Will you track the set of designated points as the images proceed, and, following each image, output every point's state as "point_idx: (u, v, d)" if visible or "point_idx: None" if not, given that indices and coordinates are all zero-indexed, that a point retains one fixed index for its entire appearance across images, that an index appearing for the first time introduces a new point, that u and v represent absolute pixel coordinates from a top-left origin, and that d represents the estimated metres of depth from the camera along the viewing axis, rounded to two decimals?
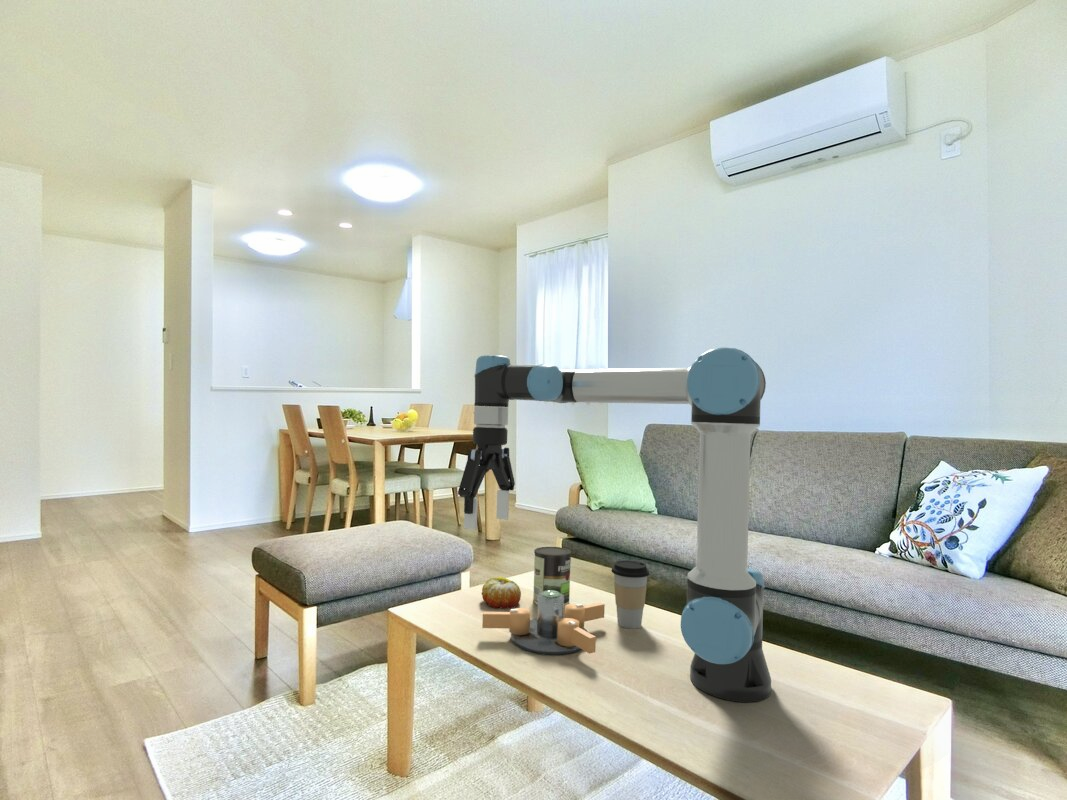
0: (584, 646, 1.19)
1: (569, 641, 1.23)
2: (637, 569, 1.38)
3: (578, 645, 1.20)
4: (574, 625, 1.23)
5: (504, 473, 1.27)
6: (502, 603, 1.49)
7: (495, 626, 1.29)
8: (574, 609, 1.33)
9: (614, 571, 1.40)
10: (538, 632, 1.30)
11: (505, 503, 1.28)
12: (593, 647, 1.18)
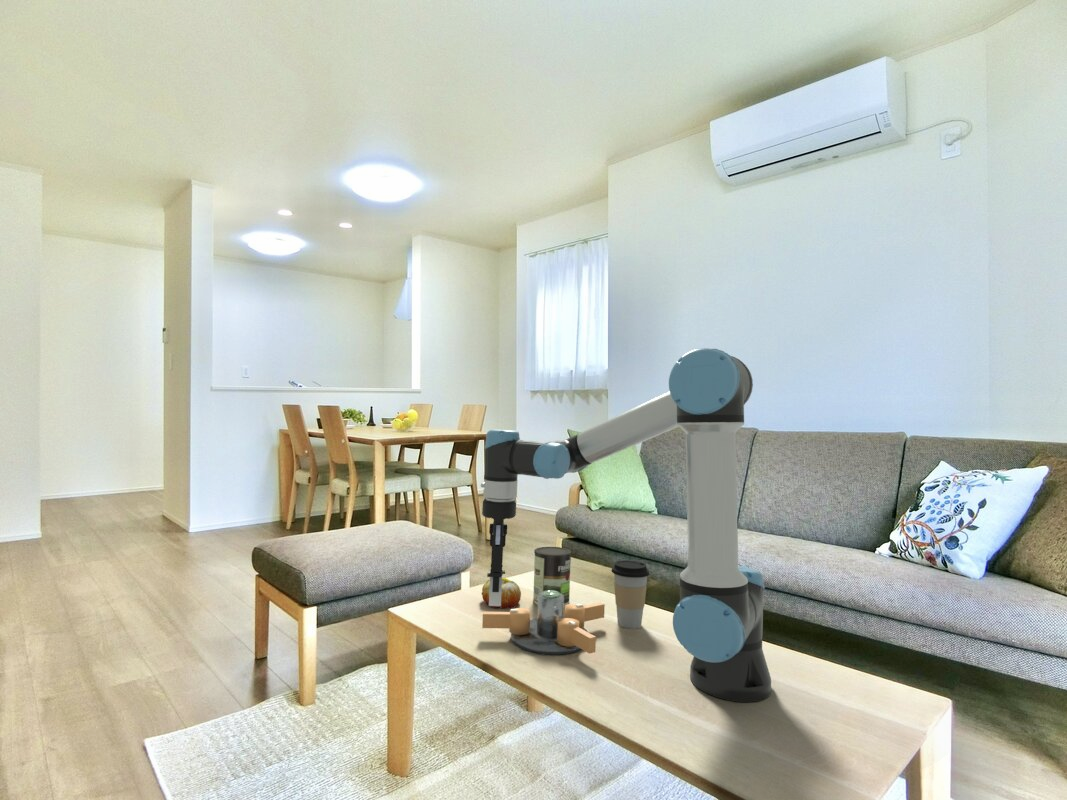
0: (584, 646, 1.19)
1: (569, 641, 1.23)
2: (637, 569, 1.38)
3: (578, 645, 1.20)
4: (574, 625, 1.23)
5: None
6: (502, 603, 1.49)
7: (495, 626, 1.29)
8: (574, 609, 1.33)
9: (614, 571, 1.40)
10: (538, 632, 1.30)
11: None
12: (593, 647, 1.18)
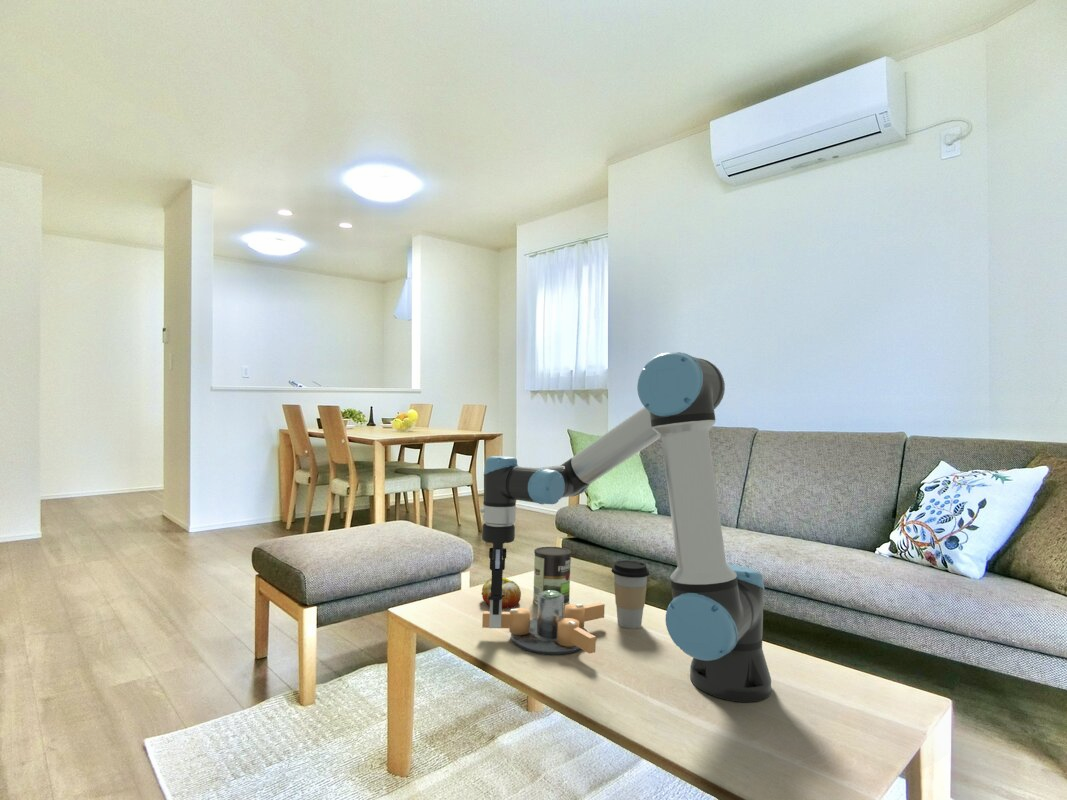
0: (584, 646, 1.19)
1: (569, 641, 1.23)
2: (637, 569, 1.38)
3: (578, 645, 1.20)
4: (574, 625, 1.23)
5: None
6: (502, 603, 1.49)
7: None
8: (574, 609, 1.33)
9: (614, 571, 1.40)
10: (538, 632, 1.30)
11: None
12: (593, 647, 1.18)
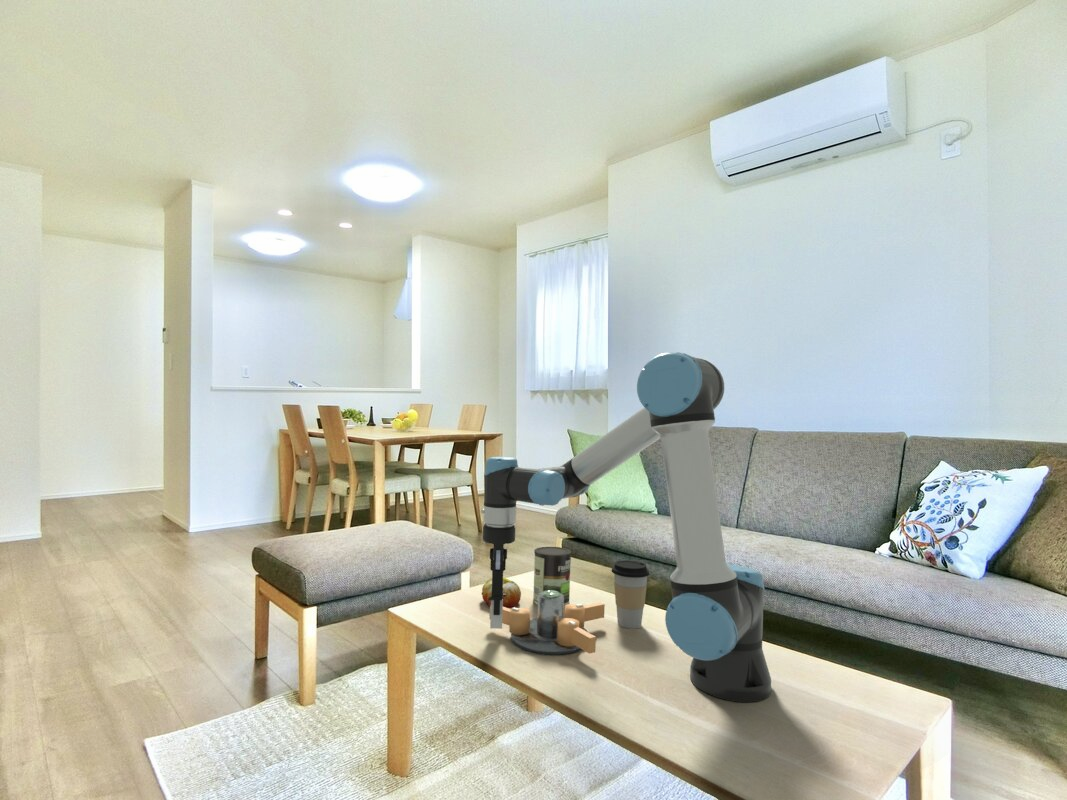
0: (584, 646, 1.19)
1: (569, 641, 1.23)
2: (637, 569, 1.38)
3: (578, 645, 1.20)
4: (574, 625, 1.23)
5: None
6: None
7: None
8: (574, 609, 1.33)
9: (614, 571, 1.40)
10: (538, 632, 1.30)
11: None
12: (593, 647, 1.18)
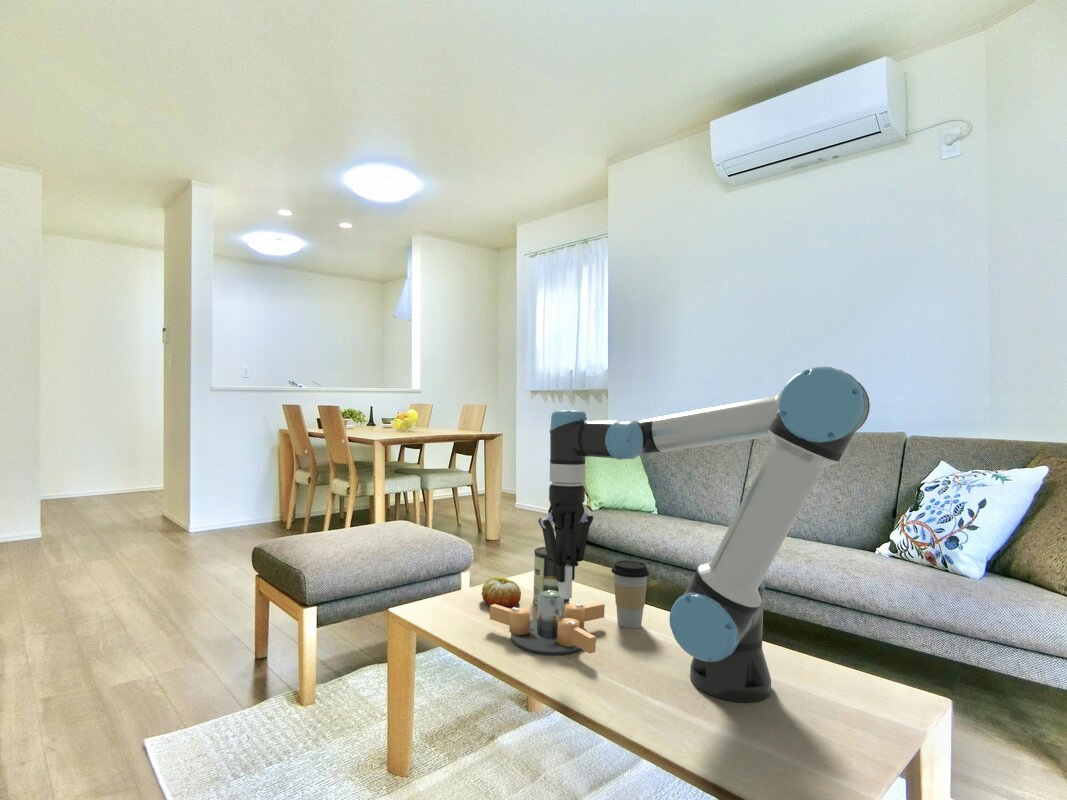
0: (584, 646, 1.19)
1: (569, 641, 1.23)
2: (637, 569, 1.38)
3: (578, 645, 1.20)
4: (574, 625, 1.23)
5: (574, 541, 1.18)
6: (502, 603, 1.49)
7: (499, 620, 1.33)
8: (574, 609, 1.33)
9: (614, 571, 1.40)
10: (538, 632, 1.30)
11: None
12: (593, 647, 1.18)
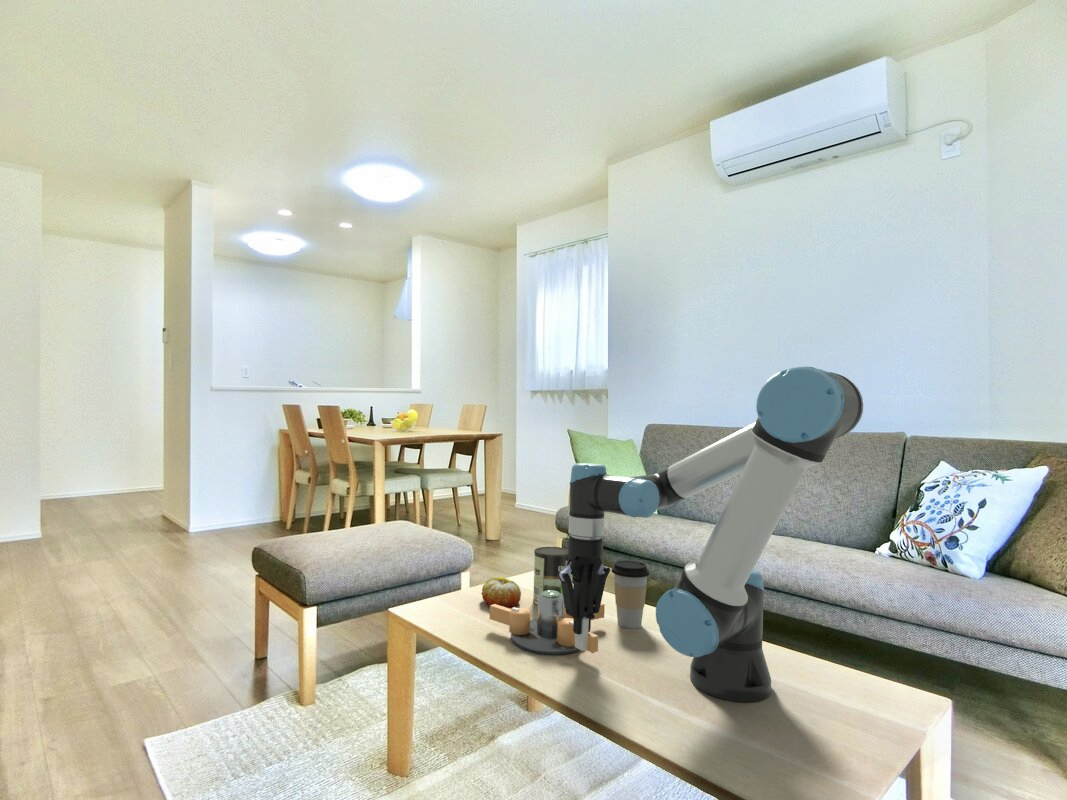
0: None
1: (570, 641, 1.23)
2: (637, 569, 1.38)
3: None
4: None
5: (591, 593, 1.20)
6: (502, 603, 1.49)
7: (499, 620, 1.33)
8: None
9: (614, 571, 1.40)
10: (538, 632, 1.30)
11: None
12: (595, 646, 1.18)
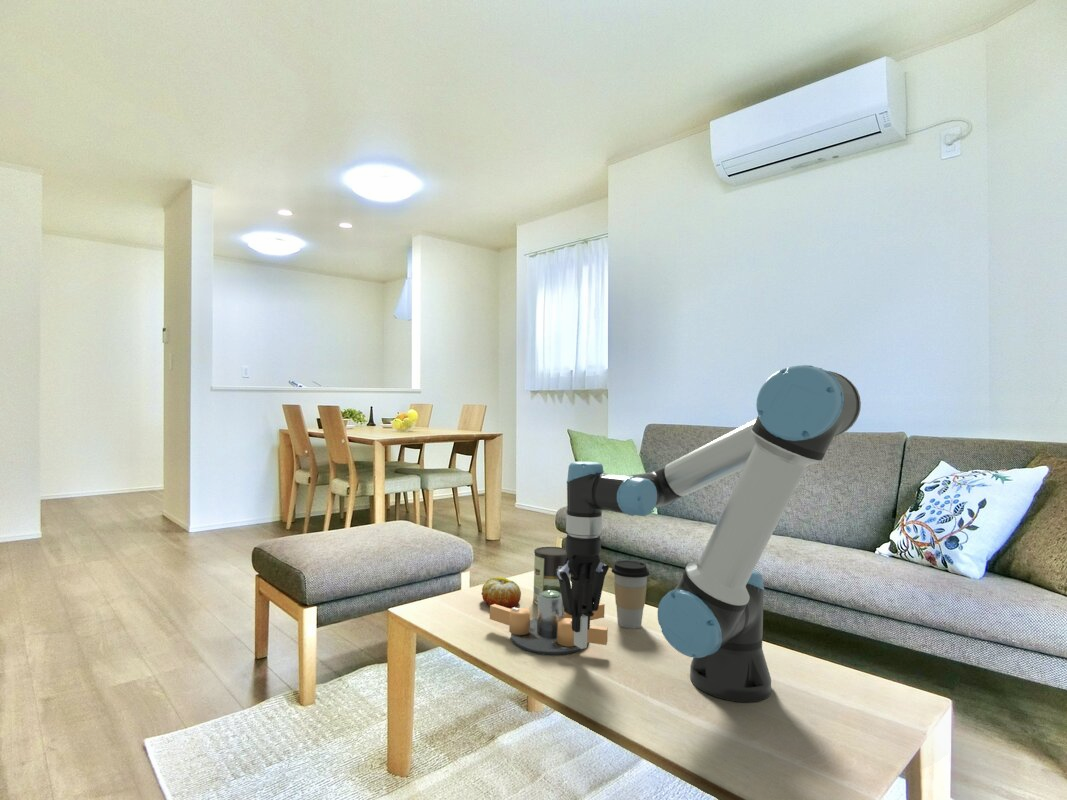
0: (598, 640, 1.22)
1: None
2: (637, 569, 1.38)
3: (589, 641, 1.23)
4: None
5: (590, 591, 1.20)
6: (502, 603, 1.49)
7: (499, 620, 1.33)
8: None
9: (614, 571, 1.40)
10: (538, 632, 1.30)
11: None
12: None
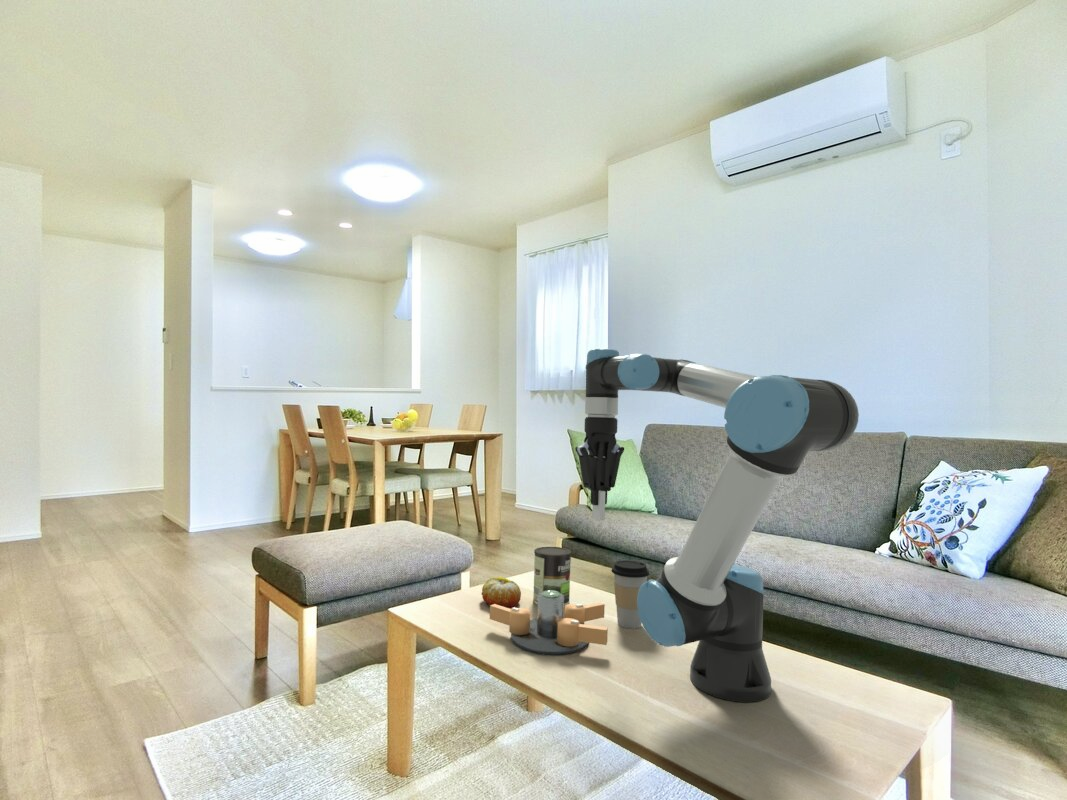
0: (598, 640, 1.22)
1: (576, 640, 1.23)
2: (637, 569, 1.38)
3: (589, 641, 1.23)
4: (578, 623, 1.24)
5: (607, 468, 1.30)
6: (502, 603, 1.49)
7: (499, 620, 1.33)
8: (574, 609, 1.33)
9: (614, 571, 1.40)
10: (538, 632, 1.30)
11: None
12: (606, 638, 1.23)
